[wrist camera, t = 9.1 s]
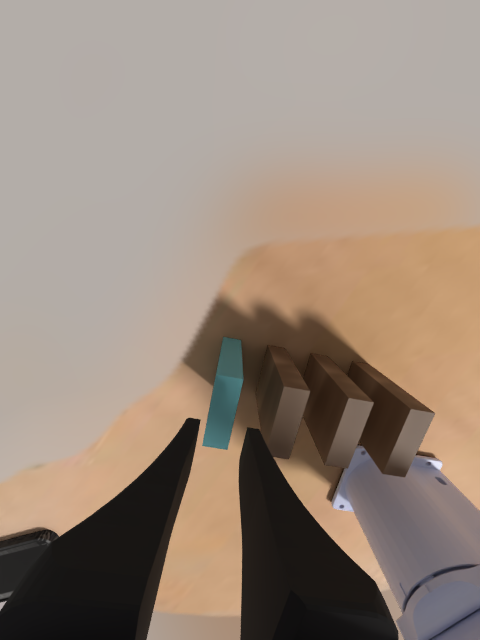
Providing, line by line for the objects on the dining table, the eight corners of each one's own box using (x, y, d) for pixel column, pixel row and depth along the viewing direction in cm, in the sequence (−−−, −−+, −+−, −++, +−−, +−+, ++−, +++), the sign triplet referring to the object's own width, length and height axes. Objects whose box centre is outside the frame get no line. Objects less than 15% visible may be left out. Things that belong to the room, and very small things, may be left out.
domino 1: (285, 348, 20) (310, 391, 13) (272, 396, 21) (289, 459, 14) (267, 345, 20) (284, 386, 13) (255, 393, 21) (264, 455, 14)
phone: (80, 582, 26) (-35, 611, 26) (87, 569, 27) (-24, 597, 28) (46, 535, 24) (-76, 567, 25) (55, 523, 25) (-63, 554, 26)
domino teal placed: (241, 340, 20) (243, 379, 13) (230, 389, 21) (227, 449, 14) (223, 336, 20) (216, 374, 13) (213, 386, 21) (202, 445, 14)
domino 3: (369, 364, 20) (435, 413, 14) (351, 410, 22) (405, 477, 15) (352, 361, 20) (411, 409, 14) (336, 408, 21) (382, 473, 15)
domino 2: (327, 356, 20) (373, 402, 13) (312, 403, 21) (347, 468, 14) (310, 353, 20) (348, 398, 13) (296, 401, 21) (324, 464, 14)
